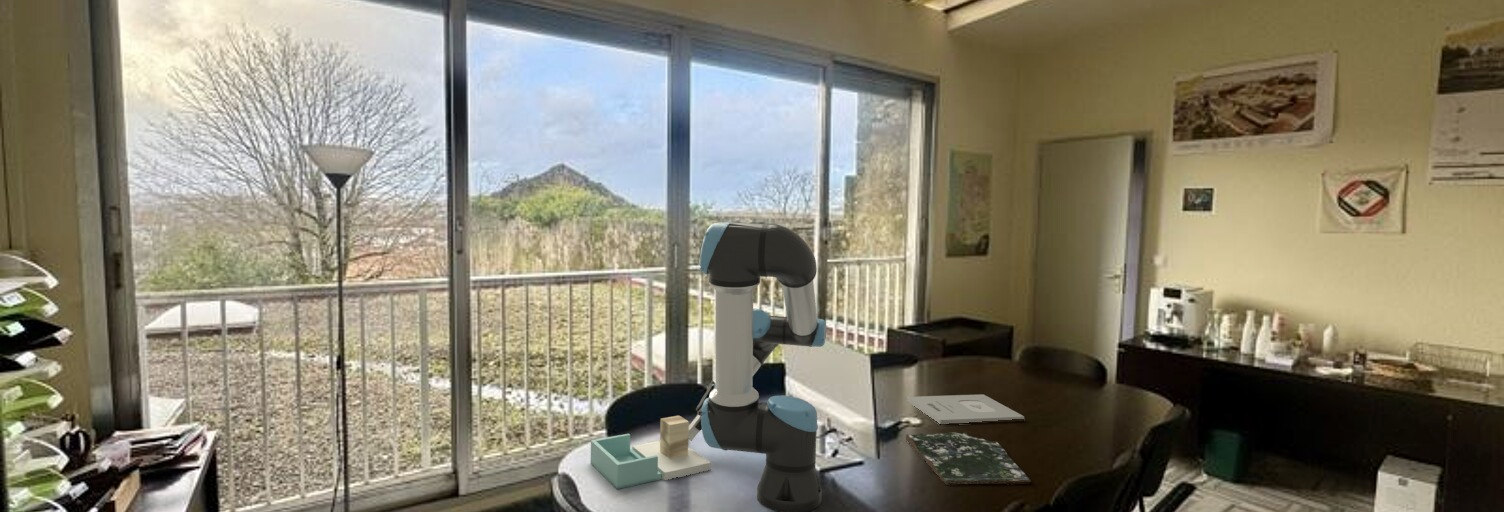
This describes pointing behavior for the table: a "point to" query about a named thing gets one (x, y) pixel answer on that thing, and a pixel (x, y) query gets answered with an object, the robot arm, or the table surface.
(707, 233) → the robot arm
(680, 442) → the maple block
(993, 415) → the award plaque
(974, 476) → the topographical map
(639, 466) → the box
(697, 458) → the cream board
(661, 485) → the table surface
